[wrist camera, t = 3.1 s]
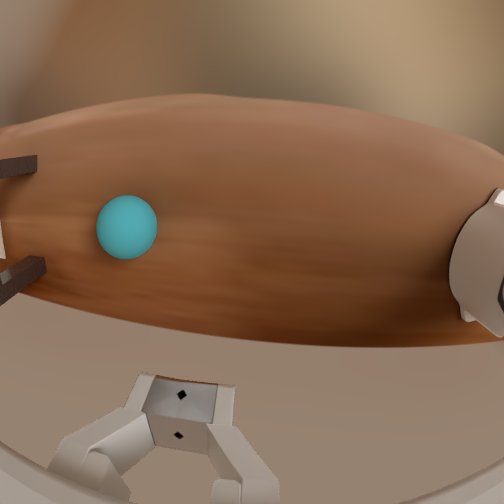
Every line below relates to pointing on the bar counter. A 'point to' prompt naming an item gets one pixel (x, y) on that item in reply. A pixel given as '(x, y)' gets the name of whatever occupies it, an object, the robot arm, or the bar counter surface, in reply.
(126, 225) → the ball
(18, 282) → the bridge
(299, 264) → the bar counter surface
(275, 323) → the bar counter surface
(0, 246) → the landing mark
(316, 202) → the bar counter surface
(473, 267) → the robot arm
